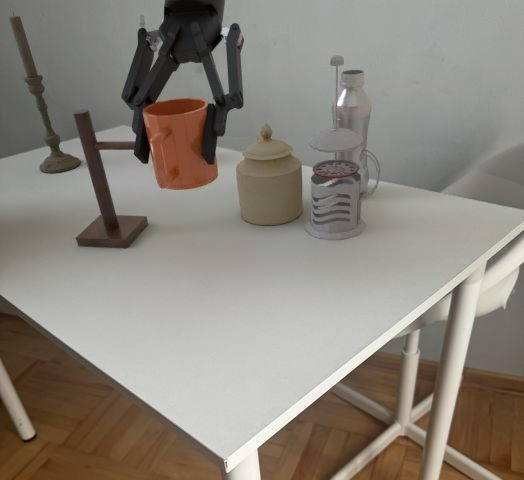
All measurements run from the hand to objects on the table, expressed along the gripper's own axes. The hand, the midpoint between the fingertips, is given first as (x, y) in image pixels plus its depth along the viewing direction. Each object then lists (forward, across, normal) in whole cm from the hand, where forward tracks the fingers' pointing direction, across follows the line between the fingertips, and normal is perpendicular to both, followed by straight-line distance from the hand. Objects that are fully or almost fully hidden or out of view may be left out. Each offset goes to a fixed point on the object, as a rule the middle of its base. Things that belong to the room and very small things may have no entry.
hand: (173, 159), depth 67 cm
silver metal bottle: (-11, -18, -36) cm, 42 cm away
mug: (+2, 0, -3) cm, 4 cm away
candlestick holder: (-19, +48, -44) cm, 68 cm away
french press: (-1, -19, -26) cm, 32 cm away
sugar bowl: (-5, -5, -30) cm, 31 cm away
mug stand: (+3, +17, -22) cm, 28 cm away
